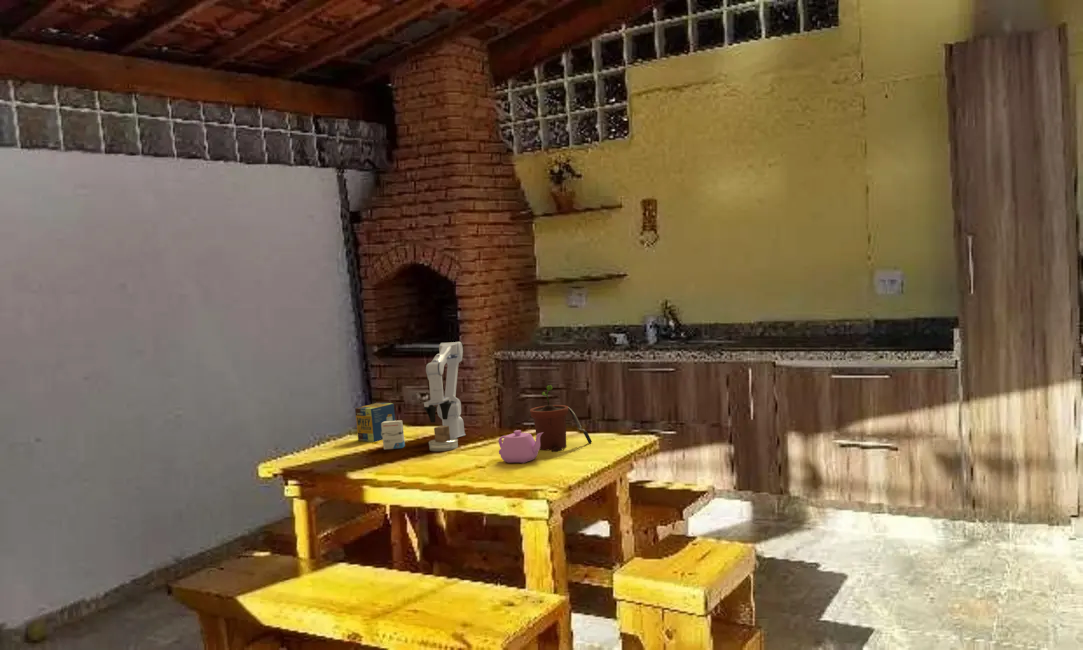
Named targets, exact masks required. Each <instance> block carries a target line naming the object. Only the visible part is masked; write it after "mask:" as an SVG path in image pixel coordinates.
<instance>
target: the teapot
mask: <svg viewBox="0 0 1083 650" xmlns="http://www.w3.org/2000/svg"><path fill="white" fill-rule="evenodd" d="M542 433H544V432H542ZM542 433H539V434H537V436H536V437H535V439H534V437H533V435H532V434H531V433H528V432H522V430H521V429H518V430H517V429H516V430H513V433H510V434H507V435H502V436H500V437H498V445H499V447H500V449H499V450H498V454H499V455H500V458H501V460H502V461H504V462H505V463H508V464H513V463H520V464H526V463H527V462H530V461H533V460H535V459H536V458H537V456H538V455H539V451H540V436H541V435H542Z"/></svg>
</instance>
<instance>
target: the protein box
mask: <svg viewBox="0 0 1083 650" xmlns="http://www.w3.org/2000/svg"><path fill="white" fill-rule="evenodd" d="M354 409H355V421H356V422H355V423H356V432H357V440H358V442H367V443H368V442H370V443H376V442H379V441H383V437H382V427H381V423H382V422H384V421H396V414H395V404H394V403H392V402H390V403H389V402H375V403H371V404H368V405H363V406H360V407H355V408H354Z"/></svg>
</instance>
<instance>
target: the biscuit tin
mask: <svg viewBox="0 0 1083 650" xmlns="http://www.w3.org/2000/svg"><path fill="white" fill-rule="evenodd" d="M458 441H459V439H458V438H450V440H448V441H445V442H435V439H431V440H429V441H428V446H429V451H431V452H446V451H451V450H452V451H453V450H455V449H458V448H459V444H458V443H459V442H458Z"/></svg>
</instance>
